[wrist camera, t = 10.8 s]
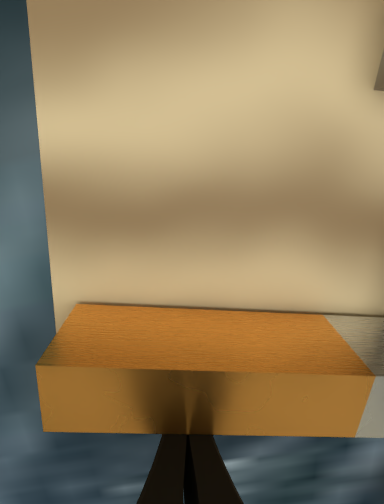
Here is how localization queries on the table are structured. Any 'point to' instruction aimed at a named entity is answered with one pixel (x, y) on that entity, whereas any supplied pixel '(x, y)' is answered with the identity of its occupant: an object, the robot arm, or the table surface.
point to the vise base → (212, 153)
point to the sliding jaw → (213, 373)
